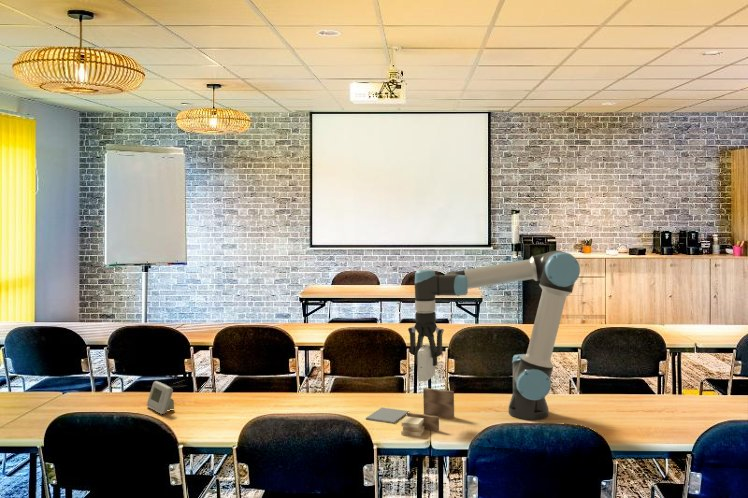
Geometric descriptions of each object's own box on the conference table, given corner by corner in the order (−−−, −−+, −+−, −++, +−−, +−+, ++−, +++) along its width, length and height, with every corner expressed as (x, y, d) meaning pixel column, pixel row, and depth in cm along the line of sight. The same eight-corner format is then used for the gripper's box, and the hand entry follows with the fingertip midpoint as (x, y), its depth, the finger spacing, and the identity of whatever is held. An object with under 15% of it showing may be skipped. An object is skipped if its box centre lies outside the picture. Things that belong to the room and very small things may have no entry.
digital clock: (146, 407, 256) (145, 381, 256) (168, 403, 261) (167, 378, 260) (153, 417, 242) (152, 391, 242) (176, 413, 247) (175, 387, 246)
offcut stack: (425, 430, 222) (425, 417, 222) (421, 437, 215) (420, 424, 215) (405, 428, 224) (405, 416, 224) (400, 435, 217) (400, 423, 217)
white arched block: (427, 381, 223) (426, 348, 222) (416, 381, 225) (415, 347, 224) (436, 375, 232) (435, 342, 232) (425, 374, 234) (425, 342, 234)
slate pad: (409, 412, 242) (409, 411, 241) (394, 423, 229) (394, 421, 229) (381, 408, 247) (381, 407, 247) (365, 419, 234) (365, 417, 234)
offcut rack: (454, 416, 235) (453, 391, 235) (438, 431, 220) (437, 403, 219) (425, 413, 241) (424, 387, 240) (407, 426, 225) (407, 400, 225)
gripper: (451, 311, 227) (452, 373, 228) (407, 308, 235) (409, 369, 236) (444, 314, 220) (445, 378, 221) (399, 311, 228) (401, 373, 229)
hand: (426, 373), depth 229 cm, fingers closed on white arched block, 4 cm apart
